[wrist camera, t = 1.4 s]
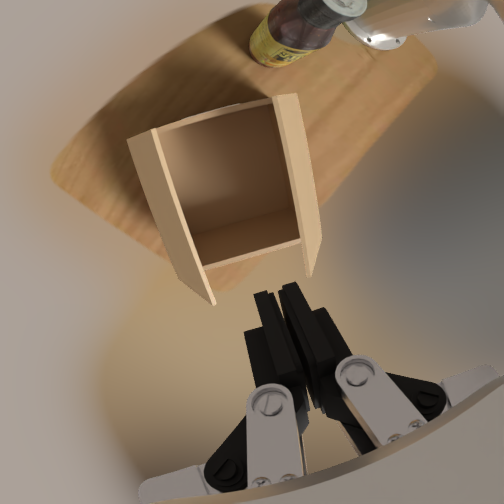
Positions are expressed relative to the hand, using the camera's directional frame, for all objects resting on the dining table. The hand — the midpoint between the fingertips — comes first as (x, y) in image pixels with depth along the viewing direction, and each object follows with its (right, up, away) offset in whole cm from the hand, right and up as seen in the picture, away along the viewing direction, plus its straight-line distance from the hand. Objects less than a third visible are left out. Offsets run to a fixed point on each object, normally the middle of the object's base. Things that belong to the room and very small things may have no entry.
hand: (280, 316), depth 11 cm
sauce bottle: (+1, +29, +19) cm, 34 cm away
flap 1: (-9, +6, +14) cm, 17 cm away
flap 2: (+3, +9, +14) cm, 17 cm away
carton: (-5, +13, +25) cm, 29 cm away
